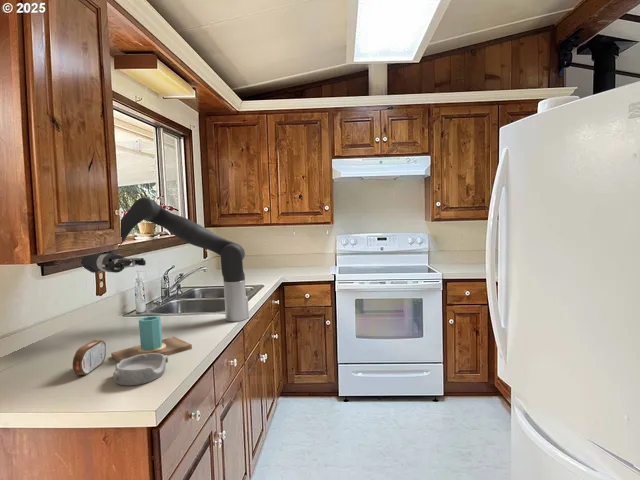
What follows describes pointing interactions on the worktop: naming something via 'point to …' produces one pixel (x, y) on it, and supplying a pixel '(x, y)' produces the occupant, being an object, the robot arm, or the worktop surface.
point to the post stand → (167, 348)
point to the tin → (89, 357)
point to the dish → (140, 369)
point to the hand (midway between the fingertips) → (134, 264)
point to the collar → (150, 333)
